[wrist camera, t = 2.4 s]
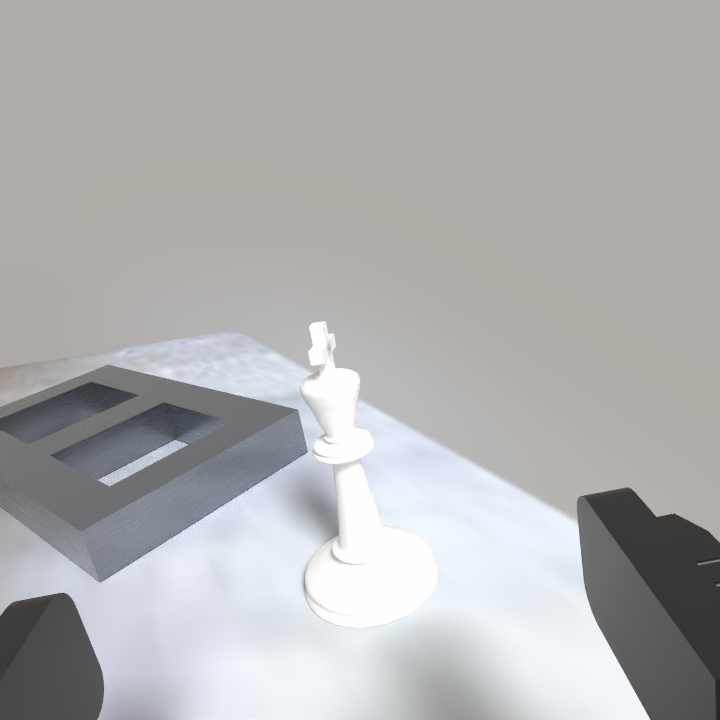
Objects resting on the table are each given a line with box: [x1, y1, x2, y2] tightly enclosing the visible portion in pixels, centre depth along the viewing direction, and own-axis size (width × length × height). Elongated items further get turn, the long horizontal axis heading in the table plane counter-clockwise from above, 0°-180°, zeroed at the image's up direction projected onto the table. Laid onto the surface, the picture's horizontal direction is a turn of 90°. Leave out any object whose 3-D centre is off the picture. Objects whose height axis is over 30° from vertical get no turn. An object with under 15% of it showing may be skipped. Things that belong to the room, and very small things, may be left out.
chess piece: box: [300, 322, 438, 628], centre depth 22 cm, size 5×5×10 cm
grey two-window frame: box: [0, 365, 308, 582], centre depth 38 cm, size 12×22×2 cm, turn 47°
